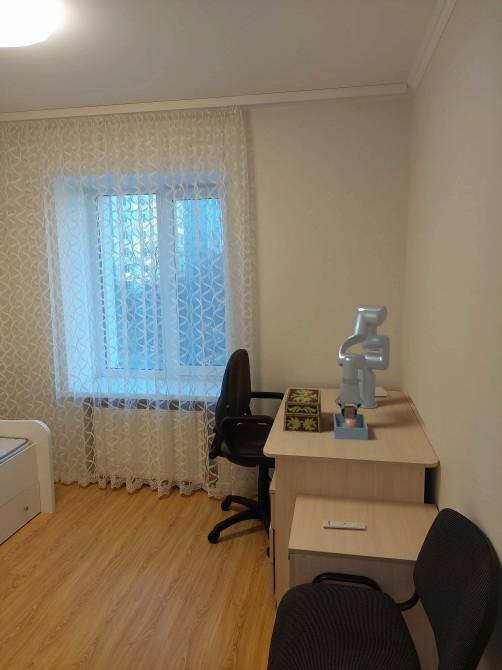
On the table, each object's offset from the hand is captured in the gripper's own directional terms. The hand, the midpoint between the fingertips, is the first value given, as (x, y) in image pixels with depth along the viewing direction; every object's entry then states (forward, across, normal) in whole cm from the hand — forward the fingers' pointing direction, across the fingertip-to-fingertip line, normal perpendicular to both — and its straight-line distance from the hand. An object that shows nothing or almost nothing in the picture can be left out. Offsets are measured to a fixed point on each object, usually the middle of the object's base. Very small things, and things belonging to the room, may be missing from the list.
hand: (349, 415), depth 230 cm
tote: (+7, 0, +4) cm, 8 cm away
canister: (+6, 0, +9) cm, 11 cm away
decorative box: (+7, +23, -6) cm, 25 cm away
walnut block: (+1, 0, 0) cm, 1 cm away
